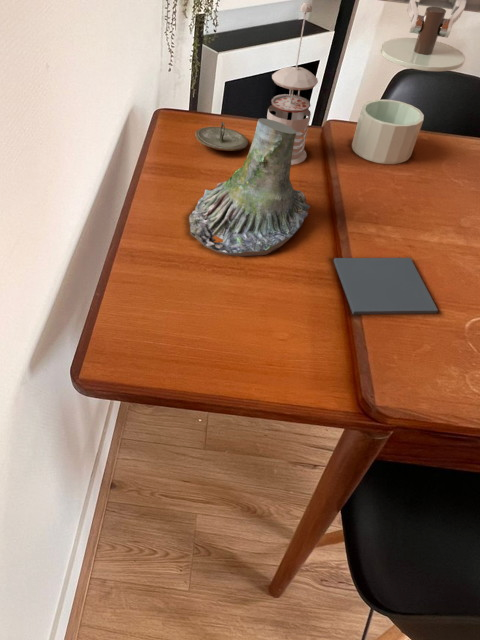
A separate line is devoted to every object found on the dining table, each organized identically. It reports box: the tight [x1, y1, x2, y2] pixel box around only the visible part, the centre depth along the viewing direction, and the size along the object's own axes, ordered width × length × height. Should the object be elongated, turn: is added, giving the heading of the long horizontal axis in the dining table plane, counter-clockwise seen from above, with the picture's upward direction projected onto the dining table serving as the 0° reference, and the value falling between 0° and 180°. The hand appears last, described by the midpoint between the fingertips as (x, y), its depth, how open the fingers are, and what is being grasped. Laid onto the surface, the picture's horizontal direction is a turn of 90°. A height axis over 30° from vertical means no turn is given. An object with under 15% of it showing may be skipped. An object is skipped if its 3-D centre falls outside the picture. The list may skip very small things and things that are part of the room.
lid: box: [194, 121, 249, 152], centre depth 102 cm, size 11×10×5 cm
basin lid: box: [379, 6, 466, 72], centre depth 79 cm, size 13×13×7 cm
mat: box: [333, 257, 439, 315], centre depth 77 cm, size 12×12×1 cm
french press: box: [266, 1, 319, 166], centre depth 94 cm, size 10×12×25 cm
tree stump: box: [188, 117, 312, 257], centre depth 83 cm, size 18×20×18 cm
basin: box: [351, 99, 425, 165], centre depth 103 cm, size 12×12×8 cm
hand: (429, 33), depth 79 cm, fingers closed on basin lid, 3 cm apart
